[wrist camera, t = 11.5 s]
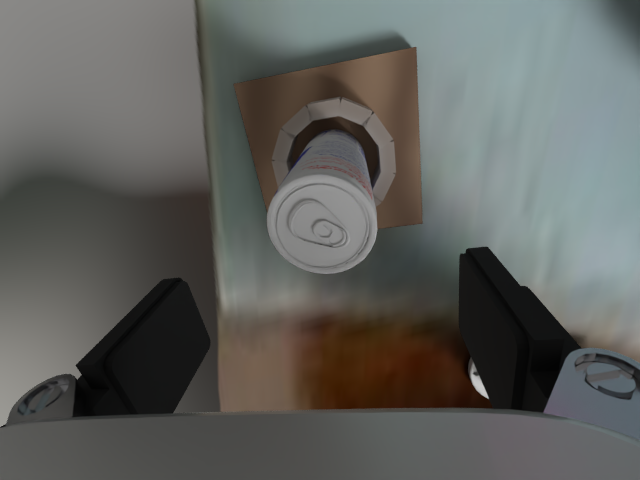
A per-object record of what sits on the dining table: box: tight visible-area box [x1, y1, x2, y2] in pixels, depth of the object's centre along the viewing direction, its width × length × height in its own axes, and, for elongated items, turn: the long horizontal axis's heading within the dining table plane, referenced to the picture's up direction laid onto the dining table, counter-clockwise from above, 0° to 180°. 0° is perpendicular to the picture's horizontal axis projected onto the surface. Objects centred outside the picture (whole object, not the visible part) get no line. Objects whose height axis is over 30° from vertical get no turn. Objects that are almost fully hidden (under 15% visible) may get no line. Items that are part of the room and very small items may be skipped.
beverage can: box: [267, 129, 377, 274], centre depth 22 cm, size 6×6×15 cm
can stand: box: [234, 47, 423, 229], centre depth 28 cm, size 15×15×4 cm
